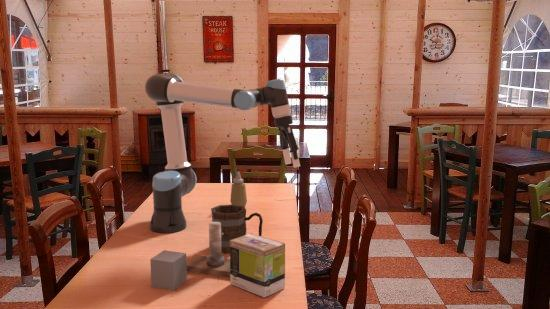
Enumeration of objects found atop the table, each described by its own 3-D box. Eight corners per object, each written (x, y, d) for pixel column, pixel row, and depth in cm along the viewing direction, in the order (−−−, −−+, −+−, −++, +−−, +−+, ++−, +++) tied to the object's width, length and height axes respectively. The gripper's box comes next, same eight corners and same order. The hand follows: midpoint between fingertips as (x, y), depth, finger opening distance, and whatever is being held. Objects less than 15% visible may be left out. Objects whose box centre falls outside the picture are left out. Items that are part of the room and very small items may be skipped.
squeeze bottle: (246, 210, 237) (246, 173, 234) (229, 210, 237) (229, 173, 234) (247, 206, 245) (247, 170, 242) (231, 205, 245) (230, 170, 242)
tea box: (286, 288, 154) (286, 242, 151) (263, 299, 146) (263, 251, 144) (251, 274, 164) (251, 231, 161) (229, 284, 156) (228, 239, 154)
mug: (207, 252, 183) (206, 213, 180) (216, 240, 196) (215, 203, 193) (259, 255, 180) (259, 215, 178) (265, 242, 194) (265, 205, 191)
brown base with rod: (182, 270, 167) (180, 224, 164) (196, 259, 176) (194, 216, 173) (237, 278, 160) (236, 231, 158) (248, 267, 170) (248, 222, 167)
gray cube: (151, 286, 154) (150, 259, 153) (164, 276, 162) (163, 250, 160) (174, 290, 152) (173, 262, 150) (186, 279, 159) (186, 253, 158)
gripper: (299, 114, 196) (309, 166, 198) (283, 114, 220) (293, 160, 222) (280, 118, 194) (292, 170, 197) (267, 117, 218) (277, 164, 221)
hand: (292, 165), depth 209 cm, fingers open, 13 cm apart
